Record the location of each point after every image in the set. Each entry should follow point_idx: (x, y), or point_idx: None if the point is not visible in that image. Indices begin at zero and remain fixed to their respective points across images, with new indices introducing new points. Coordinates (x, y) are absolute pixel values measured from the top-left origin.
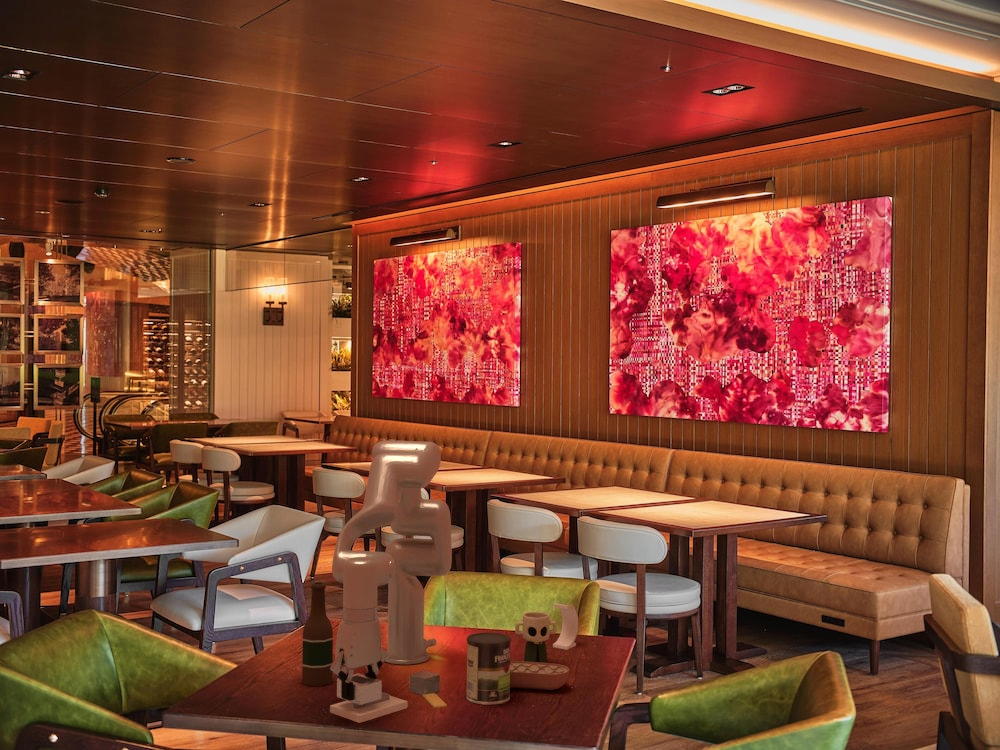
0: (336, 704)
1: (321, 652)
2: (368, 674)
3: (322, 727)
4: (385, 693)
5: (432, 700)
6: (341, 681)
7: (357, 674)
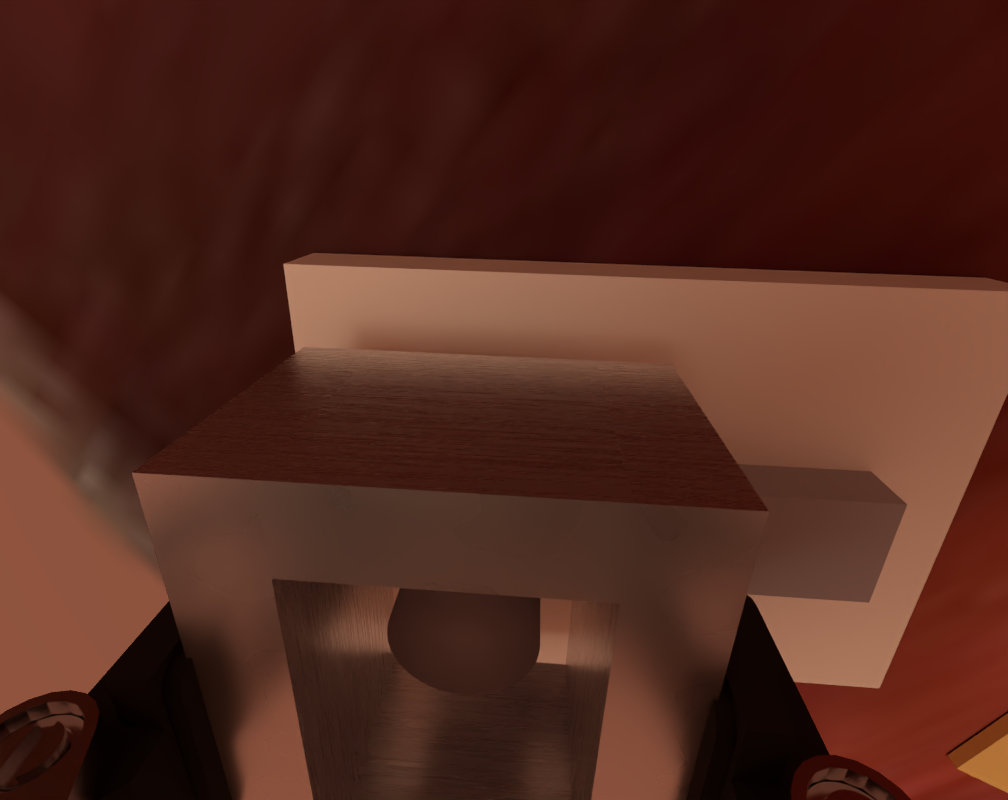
0: (359, 290)
1: None
2: (723, 794)
3: (86, 487)
4: (870, 559)
5: None
6: (70, 714)
7: (673, 565)
